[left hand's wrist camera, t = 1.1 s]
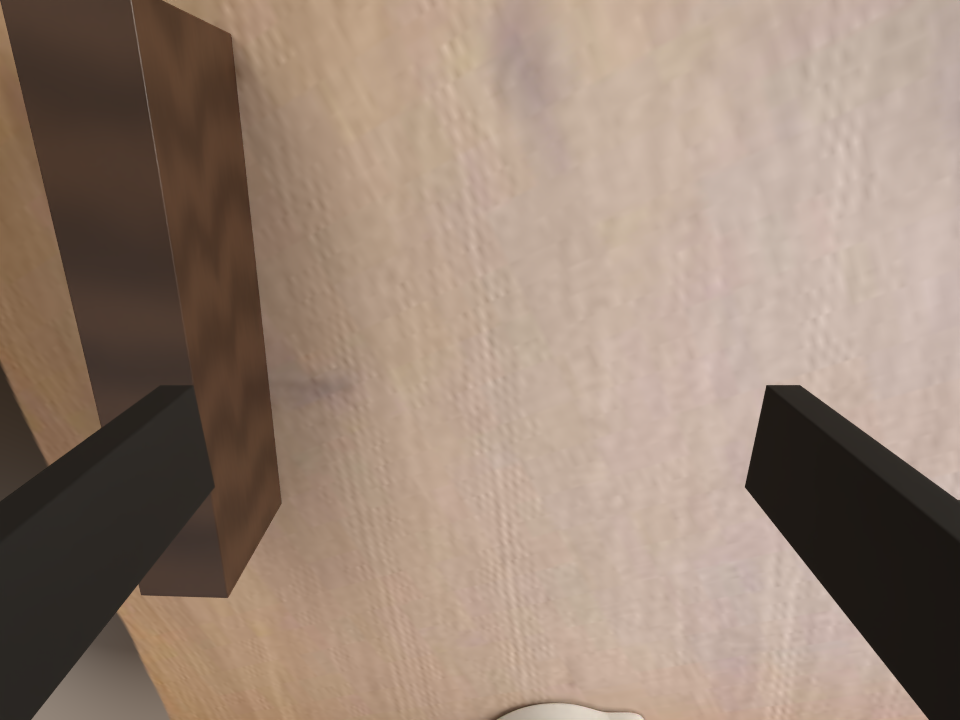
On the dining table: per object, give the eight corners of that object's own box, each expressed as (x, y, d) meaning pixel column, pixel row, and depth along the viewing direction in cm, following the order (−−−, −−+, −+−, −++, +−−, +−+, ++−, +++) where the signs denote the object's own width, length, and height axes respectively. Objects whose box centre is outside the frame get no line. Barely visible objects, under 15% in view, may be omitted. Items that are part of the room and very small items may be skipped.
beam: (136, 29, 28) (-7, -25, 20) (231, 33, 29) (128, -18, 20) (213, 501, 39) (140, 595, 31) (281, 503, 39) (228, 598, 31)
